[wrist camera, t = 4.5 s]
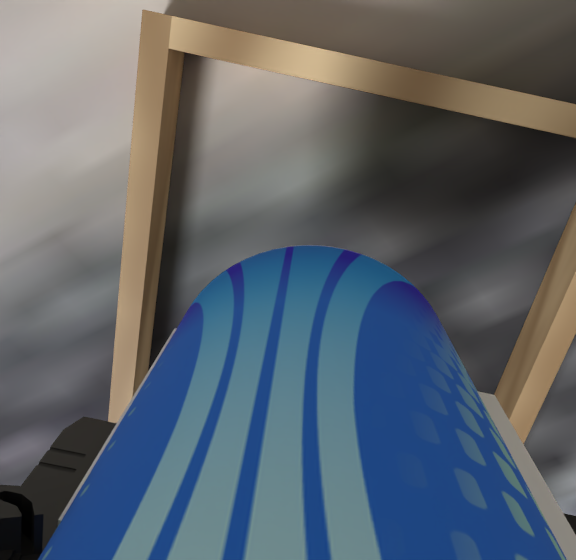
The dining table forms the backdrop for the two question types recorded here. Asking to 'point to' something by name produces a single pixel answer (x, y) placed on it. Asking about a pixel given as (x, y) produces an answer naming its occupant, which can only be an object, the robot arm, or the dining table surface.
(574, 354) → the dining table surface
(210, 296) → the beer can
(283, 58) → the oak frame
